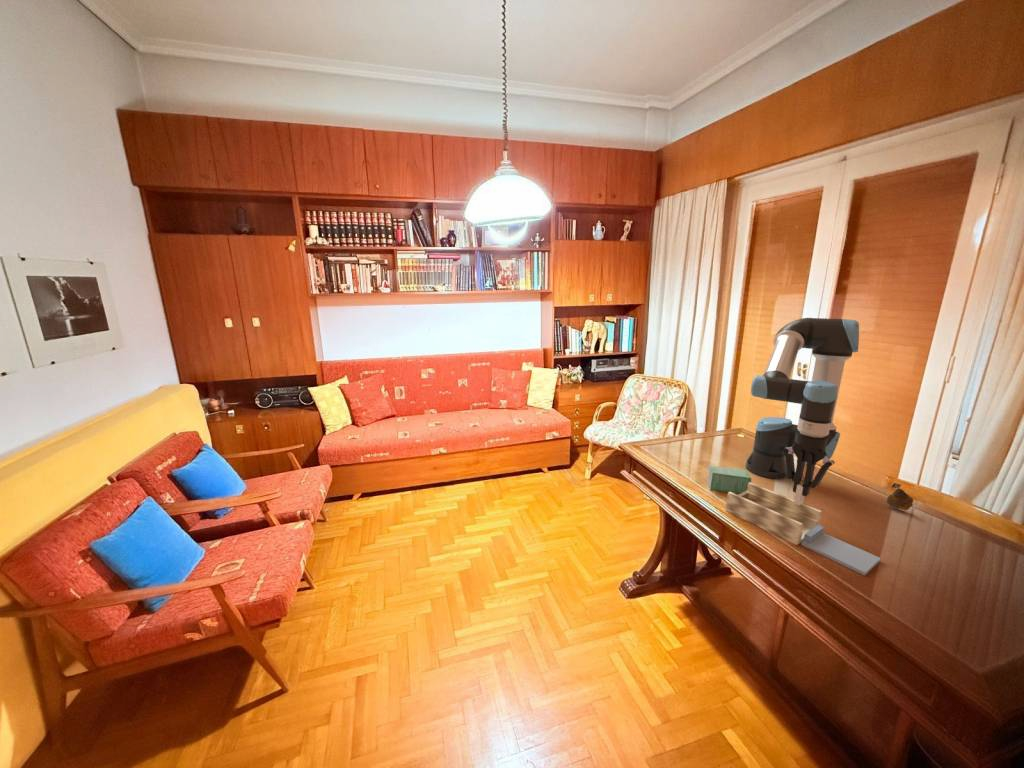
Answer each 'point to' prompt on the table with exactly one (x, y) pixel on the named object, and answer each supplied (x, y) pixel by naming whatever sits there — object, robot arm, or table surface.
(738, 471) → the box
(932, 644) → the table surface
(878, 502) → the table surface
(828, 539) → the cover plate
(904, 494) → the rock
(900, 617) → the table surface
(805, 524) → the case
